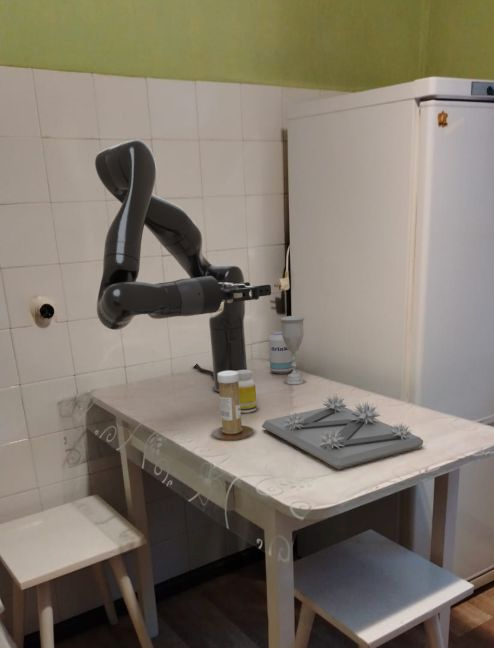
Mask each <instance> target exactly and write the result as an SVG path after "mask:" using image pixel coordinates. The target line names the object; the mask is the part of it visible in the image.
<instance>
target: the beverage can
mask: <svg viewBox="0 0 494 648" xmlns="http://www.w3.org/2000/svg"><path fill="white" fill-rule="evenodd" d="M268 349H269V350H268V351H269V369H270V371H271V372H273V373H274V374H276V375H285V374H290V372H292V370H293V368H292V366H291V365H292V360H291V358H292V352H291V351H289V350H288V348H287V346H286V344H285V342H284V339H283V337H282V330H274V331H270V335H269V337H268Z"/></svg>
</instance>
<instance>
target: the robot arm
mask: <svg viewBox="0 0 494 648" xmlns="http://www.w3.org/2000/svg"><path fill="white" fill-rule="evenodd" d="M94 167H95V171H96V174H97V176H98V178H99V180H100V182H101V183H102V185H103V186H104V187H105V189H106V190H107V191H108V192H109V193H110V194H111V195H112V196H113V197H114V198H115V199H116V200H117V201H119V202H120V203H121V206H120V208H119V210H118V212H117V213H116V215H115V217H114V218H113V220H112V222H111V223H110V226H109V228H108V230H107V234H106V236H105V239H104V240H105V241H104V249H103V262H102V275H101V276H102V277H101V280H100V285H99V290H98V293H97V294H98V295H97V301H96V314H97V318H98V320H99V322H100V323H101V324H102V325H103V326H104V327H106V328H107V329H110V330H113V331H117V330H118V331H119V330H121V329H124V328H126V327H127V326H128V325H129V324H130V323H131V321H132V320H133V319H134V317H135V316H140V315H147V316H148V317H150V318H151V319H154V320H160V319H169V318H177V317H192V316H193V317H194V316H199V315H200V316H201V315H205V314H206V315H207V314H212V313H213V314H214V313H216V314H214V315H211V316H210V317H209V319H208V324H209V335H210V345H211V346H210V348H211V361H212V370H213V371H212V370H210V369H206V368H202V367H201V366H200V365H199V364H198V363H195V364H196V365H195V364H194V365H195V366H193V369H197V370H198V371H199V372H202V373H206V374H208V375H211V376H212V377H213V382H214V383H213V385H214V386H213V389H214V391H215V392H217V393H219V384H218V383H219V382H218V379H217V374H218V373H219V372H222V371H238V370H248V366H247V351H246V350H247V349H246V337H245V335H246V334H245V317H246V315H245V314H246V303H245V302H246V301H254V300H256V301H257V300H259V299H260V297H267V296H271V295H272V286H271V284H261V285H255V284H253V285H251V283H250V282H249V281H245V277H244V273H243V270H242V269H241V268H240V266H238V265H235V264H212V263H211V262H210V261H208V259H207V258H206V256H204V254H203V235H202V231H201V230H200V228H199V227H198V225H197V224H196V222H195V221H194V219H192V217H191V216H190V215H189V214H188V212H186V210H184V208H182V207H181V206H179V205H177V204H175V203H174V202H171V201H169V200H166V199H165V198H162V197H160V196H157V195H155V194H153V192H154V188H155V183H156V179H157V164H156V159H155V155H154V153H153V150H152V149H151V148H150V146H149V145H148V144H147V143H146V142H145V141H144V140H141V139H131V140H127V141H124V142H121V143H119V144H116V145H112V146H109V147H106V148H104V149H103V150H101V151H99V152H98V153H97V154H96V157H95V159H94ZM144 227H146V228H147V230H149V231H150V232H151V234H152V235H153V236H154V237H155V239H156V240H157V241H158V242H159V243H160V244H161V245H162V247H163V248H164V249H165V250H166V251H167V252H168V253H169V254H170V255H171V256H172V257H173V258H174V260H175V261H176V262H177V263H178V265H180V267H181V268H182V269H183V270H184V271H185V273H186V274H187V276H188V277H189V278H180V279H175V280H172V281H164V282H156V283H151V282H150V283H149V282H143V281H137V280H138V277H139V273H140V265H141V250H142V239H143V233H144ZM222 303H223V308H222V310H221V311H220V312H219V313H217V312H218V311H219V310H220V308H221V305H222Z"/></svg>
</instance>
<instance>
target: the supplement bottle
mask: <svg viewBox="0 0 494 648" xmlns="http://www.w3.org/2000/svg"><path fill="white" fill-rule="evenodd" d="M237 372H238V375H239V382H238V388H239V397H240V410H241V414H248V413H253V412H255V411H256V410H257V409H258V407H257V406H258V405H257V391H256V388H257V387H256V381H255V380H254V379H253V378H252V377H253V373H252V370H250V369H247V370H238V371H237Z"/></svg>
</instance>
